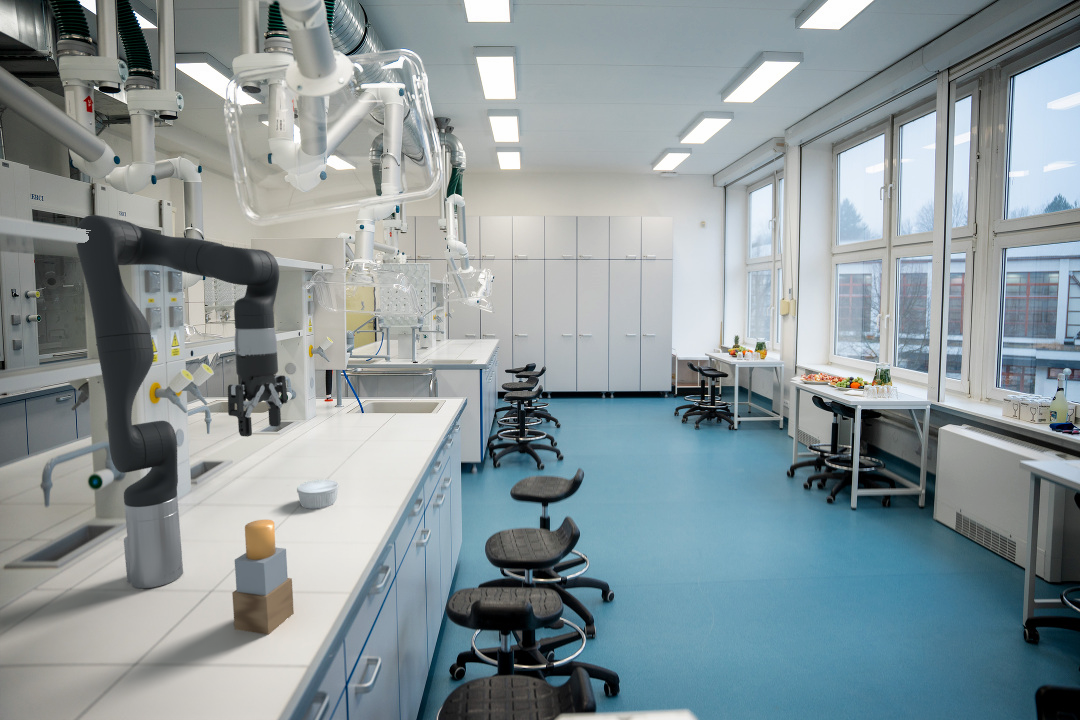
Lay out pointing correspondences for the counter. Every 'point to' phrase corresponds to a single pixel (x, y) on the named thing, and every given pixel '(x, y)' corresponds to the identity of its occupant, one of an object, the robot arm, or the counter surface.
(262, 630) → the walnut base cube
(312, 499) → the ramekin
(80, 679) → the counter surface
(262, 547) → the orange rounded cylinder
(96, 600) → the counter surface
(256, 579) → the grey top cube
